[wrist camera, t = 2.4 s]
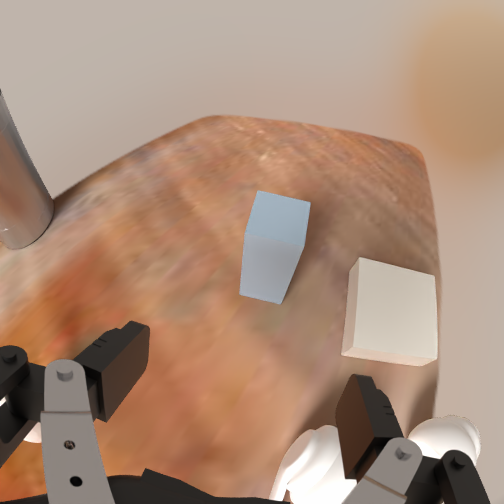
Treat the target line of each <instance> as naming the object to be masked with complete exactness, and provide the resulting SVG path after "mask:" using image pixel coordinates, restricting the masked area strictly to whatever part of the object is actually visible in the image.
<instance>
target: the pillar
mask: <svg viewBox="0 0 504 504" xmlns="http://www.w3.org/2000/svg"><path fill="white" fill-rule="evenodd" d="M310 204H311V202H307V201H302V200H298V199H294V198H290V197H285V196H281V195H277V194H272V193H268V192H263V191H257V194H256V198H255V201H254V204H253V208H252V211H251V214H250V217H249V221H248V224H247V227H246V231H245V237H244V248H243V259H242V271H241V282H240V294H239V295H243V296H247V297H251V298H256V299H260V300H264V301H269V302H273V303H277V304H281V303H282V301H283V298H284V296H285V293H286V291H287V288H288V286H289V283H290V281H291V279H292V276H293V274H294V271H295V269H296V266H297V264H298V261H299V259H300V256H301V253H302V251H303V248H304V245H305V238H306V232H307V225H308V218H309V211H310Z"/></svg>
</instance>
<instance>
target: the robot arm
mask: <svg viewBox="0 0 504 504" xmlns="http://www.w3.org/2000/svg"><path fill="white" fill-rule="evenodd" d="M53 212H54V203H53V200H52V198H51V196H50V194H49V193H48V191H47V189H46V187H45V185H44V183H43V182H42V180H41V178H40V176H39V174H38V172H37V170H36V168H35V166H34V164H33V162H32V160H31V158H30V156H29V154H28V152H27V150H26V148H25V146H24V144H23V142H22V139H21V137H20V135H19V133H18V131H17V128H16V126H15V124H14V122H13V120H12V117H11V115H10V112H9V110H8V107H7V105H6V103H5V100H4V97H3V95H2V92H1V90H0V241H1V242H2V243H3V244H4V245H5V246H6V247H7V248H10V249H20V248H23V247H25V246H27V245H29V244H31V243H32V242H34V241H35V240H36V239H37V238H38V237H39V236H40V235H41V234H42V233H43V232H44V231H45V229H46V228H47V226H48V225H49V223H50V221H51V219H52V216H53ZM149 337H150V328H149V326H147V325H144V324H141V323H138V322H135V321H129V322H128V323H127V324H126V325H125V326H124V327H123V328H122V329H118V328H115V329H112V330H109V331H106V332H105V333H104V334H102V335H101V336H100V337H99V338H98V339H97V340H95V341H94V342H93V344H91V345H90V346H88V347H87V348H86V349H85V350H84V351H83V352H81V353H80V354H79V355H78V356H77V357H76V358H74V359H73V360H68V359H60V360H55V361H53V362H51V363H49V364H48V365H47V367H45V366H41V365H37V364H33V363H29V362H28V357H27V353H26V352H25V351H24V350H23V349H22V348H20V347H17V346H12V345H9V346H3V347H0V401H1V400H2V399H3V398H4V397H5V400H6V401H5V402H4V403H3V404H2V405H1V406H0V468H1V467H2V465H3V464H4V463H5V462H6V460H7V459H8V458H9V457H10V455H11V454H12V453H13V452H14V450H15V449H16V448H17V447H18V446H19V444H20V443H21V442H22V441H23V439H24V438H25V437H26V436H27V435H28V433H29V432H30V431H31V430H32V429H33V427H34V426H35V425H36V424H37V423H38V422H39V423H41V441H42V454H43V465H44V473H45V481H46V488H47V494H42V495H38V496H33V497H28V498H22V499H17V500H11V501H4V502H0V504H290V502H285V501H277V500H269V499H262V498H256V497H247V498H227V497H214V496H212V495H209V494H207V493H205V492H203V491H201V490H199V489H197V488H195V487H193V486H191V485H189V484H187V483H185V482H183V481H181V480H179V479H176V478H172V477H169V476H166V475H163V474H160V473H157V472H155V471H152V470H149V469H146V468H145V470H144V472H143V474H142V476H134V475H115V476H109V477H106V473H105V470H104V466H103V462H102V459H101V455H100V451H99V447H98V443H97V438H96V434H95V429H94V424H93V422H94V421H95V419H96V418H97V419H100V420H102V421H104V422H106V423H107V421H108V420H109V419H110V417H111V416H112V415H113V413H114V412H115V410H116V409H117V408H118V406H119V405H120V404H121V402H122V401H123V400H124V398H125V397H126V396H127V394H128V393H129V392H130V390H131V389H132V388H133V386H134V385H135V384H136V382H137V381H138V380H139V378H140V377H141V376H142V374H143V373H144V371H145V369H146V366H147V363H148V353H149ZM394 414H395V413H394V411H393V408H392V406H391V403H390V401H389V399H388V397H387V396H386V395H385V394H384V393H383V392H382V391H381V390H379V389H376V386H375V384H374V381H373V379H372V377H371V376H364V375H357V374H353V375H351V377H350V379H349V381H348V383H347V385H346V388H345V390H344V392H343V394H342V396H341V398H340V400H339V403H338V405H337V408H336V424H337V430H338V436H339V442H340V449H341V456H342V462H343V469H344V477H345V479H352V480H356V482H357V484H356V486H355V487H354V488H353V489H352V491H351V492H350V493H349V494H348V495H347V497H346V498H345V499H344V500H343V501H342V502H341V504H442V503H443V502H444V504H490V501H489V499H488V496H487V494H486V491H485V489H484V487H483V484H482V482H481V479H480V477H479V475H478V472H477V470H476V468H475V466H474V464H473V461H472V460H471V458H470V457H469V456H468V455H467V454H466V453H464V452H462V451H459V450H449V451H447V452H446V453H445V454H444V455H443V456H442V457H441V459H438V458H433V457H428V456H424V455H423V454H422V450H421V448H420V447H419V446H418V445H417V444H416V443H415V442H413V441H412V440H409V439H407V438H404V436H403V433H402V431H401V428H400V426H399V423H398V421H397V418H396V416H395V415H394Z"/></svg>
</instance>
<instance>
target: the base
mask: <svg viewBox="0 0 504 504" xmlns="http://www.w3.org/2000/svg"><path fill="white" fill-rule="evenodd" d="M437 350H438V334H437V303H436V288H435V276H433V275H429V274H425V273H421V272H418V271H414V270H410V269H406V268H402V267H398V266H394V265H390V264H386V263H382V262H378V261H374V260H370V259H366V258H362V257H359V258H358V260H357V261H356V263H355V264H354V266H353V267H352V269H351V270H350V271H349V283H348V295H347V306H346V317H345V326H344V335H343V343H342V351H341V355H343V356H349V357H355V358H361V359H368V360H375V361H382V362H389V363H396V364H404V365H412V366H423V365H425V364H427V363H430V362H432V361H434V360H436V359H437Z"/></svg>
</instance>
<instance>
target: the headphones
mask: <svg viewBox="0 0 504 504" xmlns="http://www.w3.org/2000/svg"><path fill="white" fill-rule="evenodd" d="M407 439H409V440H412V441H413V442H415V443H416V444H417V445H418V446H419V447H420V448H421V450H422V454H423V455H424V456H428V457H433V458H438V459H441V457H442V456H443V455H444V454H445V453H446V452H447V451H449V450H459V451H462V452H464V453H466V454H467V455H468V456H469V457H470V458H471V460H472V461H473V464H474V466H475V467H476V461H477V458H478V456H479V453H480V450H481V443H480V434H479V431H478V429H477V427H476V426H475V425H474V423H472V422H471V421H470V420H468V419H467V418H464V417H458V416H455V415H450V416H446V417H443V418H432V419H429V420H426V421H424V422H422V423H420V424H419V425H417V426H416V427H415V428H414V429H413V430H412V431H411V432H410V434H409V436H408V438H407ZM356 484H357V482H356V480H352V479H345V477H344V469H343V462H342V456H341V449H340V442H339V436H338V430H337V428H336V427H334V426H331V425H324V426H322V427H320V428H318V429H317V430H312V429H309V430H307V431H306V432H304V433H303V434H302V435H300V436H299V437H298V438H297V439H296V440H295V442H294V443H293V444H292V445H291V446H290V448H289V449H288V451H287V452H286V454H285V455H284V457H283V459H282V461H281V464H280V467H279V470H278V472H277V475H276V478H275V481H274V484H273V487H272V491H271V494H270V496H269V500H277V501H282V500H283V498H284V495H285V492H286V489H287V490H289V492H290V498H291V501H292V502H293V503H294V504H341V502H342V501H343V500H344V499H345V498H346V497H347V495H348V494H349V493H350V492H351V491H352V489H353V488H354V487H355V486H356Z"/></svg>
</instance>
